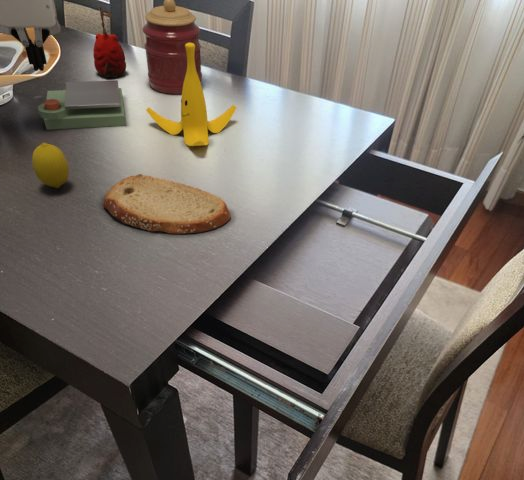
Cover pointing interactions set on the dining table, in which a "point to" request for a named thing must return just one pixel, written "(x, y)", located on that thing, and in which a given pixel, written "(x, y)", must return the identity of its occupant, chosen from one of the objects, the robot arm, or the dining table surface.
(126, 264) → the dining table surface
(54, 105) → the tare button
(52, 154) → the lemon
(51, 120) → the scale
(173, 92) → the kitchen canister
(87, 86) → the scale pan
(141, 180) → the bread slice
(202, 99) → the banana peel
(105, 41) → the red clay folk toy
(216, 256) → the dining table surface
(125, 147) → the dining table surface
